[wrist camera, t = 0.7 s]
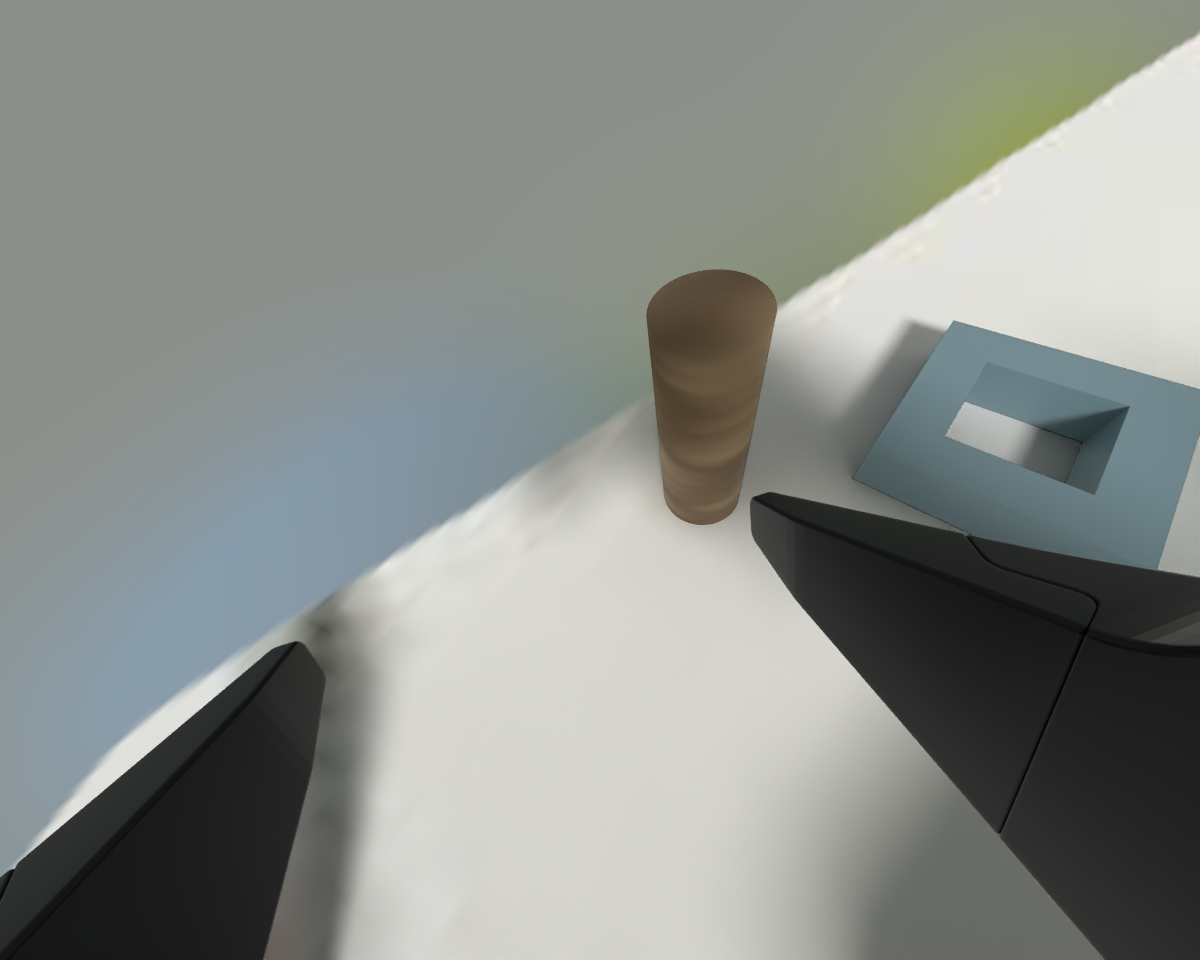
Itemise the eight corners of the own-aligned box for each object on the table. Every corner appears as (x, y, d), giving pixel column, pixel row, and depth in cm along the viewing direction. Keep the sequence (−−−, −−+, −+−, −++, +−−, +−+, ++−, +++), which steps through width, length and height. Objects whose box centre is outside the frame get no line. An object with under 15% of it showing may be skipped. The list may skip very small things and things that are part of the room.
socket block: (1156, 427, 23) (1213, 388, 21) (1096, 593, 20) (1156, 571, 17) (931, 355, 28) (955, 317, 26) (852, 478, 25) (871, 448, 22)
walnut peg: (753, 483, 26) (801, 290, 15) (712, 538, 24) (731, 371, 13) (690, 449, 28) (692, 257, 17) (649, 499, 26) (621, 326, 15)
